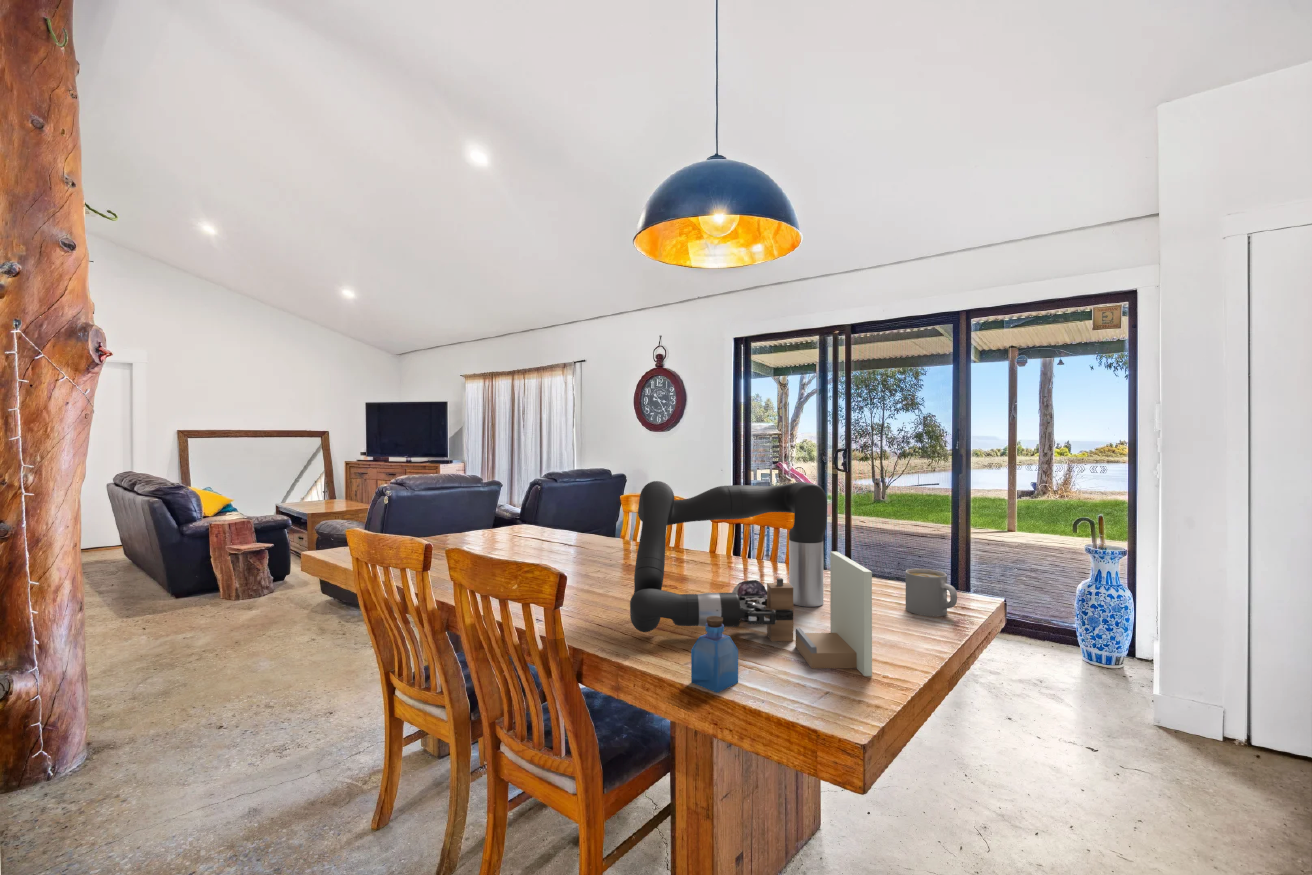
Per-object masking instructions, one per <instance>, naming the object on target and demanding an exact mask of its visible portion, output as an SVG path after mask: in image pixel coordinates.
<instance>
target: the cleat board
mask: <svg viewBox="0 0 1312 875" xmlns="http://www.w3.org/2000/svg"><path fill="white" fill-rule="evenodd" d="M829 559H830V560H829V561H830V565H829V566H830V569H829V570H830V573H829V574H830V575H829V576H830V577H829V579H830V580H829V581H830V586H829V587H830V589H829V590H830V598H829V599H830V604H829V606H830V607H829V608H830V610H829V611H830V617H829V618H830V622H829V623H830V628H829V629H830V632H804V630H803V629H802V628H801V627H795V649H797V651H798V652H799V654H800V655H801V656H802V657H803V659H804V660H805V662H806V663H807V664H808V665H809V668H811V669H857V670H858V671H859V672H860V673H861V675H863V676H864V677H872V676H873V572H872V571H871V570H870V569H868V568H867V567H864V566H862V565H861V564H859V563H858V562H856V561H854V560H852V559H850V558H849V557H848V556H846V555H844V554H843V553H840V552H839V551H830V556H829Z"/></svg>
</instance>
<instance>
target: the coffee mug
mask: <svg viewBox="0 0 1312 875" xmlns="http://www.w3.org/2000/svg"><path fill="white" fill-rule="evenodd" d="M948 592H949V594H950V599H949V600H950V601H948ZM957 602H958V592H957V590H956V588H955V587H954V586H953V585H951V584H948V575H947V573H946V572H944V571H941V570H936V569H928V568H910V569H906V570H905V610H906V611H907V612H908V613H912V614H915V615H918V616H924V617H944V616H946V615H948V614H947V613H948V609H952V608H955V606H956V604H957Z"/></svg>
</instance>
